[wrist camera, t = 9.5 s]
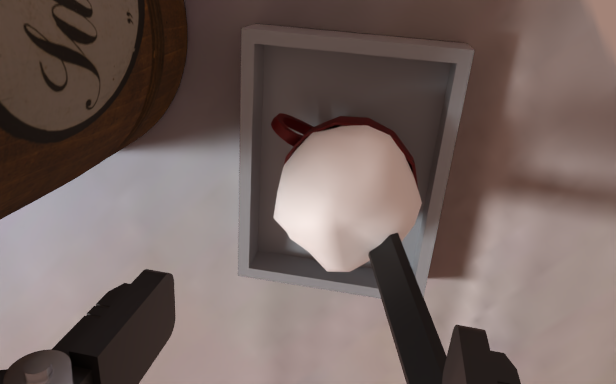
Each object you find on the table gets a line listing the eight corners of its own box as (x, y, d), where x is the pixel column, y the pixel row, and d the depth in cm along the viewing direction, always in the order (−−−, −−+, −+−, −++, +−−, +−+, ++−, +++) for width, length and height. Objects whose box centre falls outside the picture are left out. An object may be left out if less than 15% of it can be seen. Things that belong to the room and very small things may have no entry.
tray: (466, 43, 22) (474, 50, 20) (420, 278, 28) (421, 305, 25) (256, 23, 24) (241, 28, 21) (250, 252, 29) (237, 275, 27)
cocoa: (268, 113, 25) (148, 205, 14) (380, 59, 23) (337, 119, 12) (346, 264, 27) (294, 442, 17) (454, 229, 25) (476, 407, 14)
